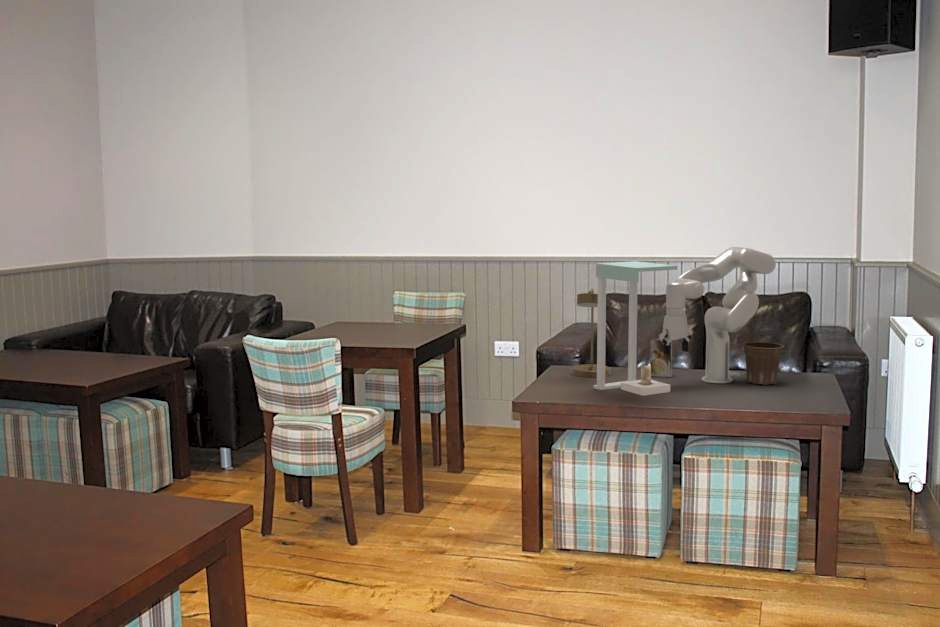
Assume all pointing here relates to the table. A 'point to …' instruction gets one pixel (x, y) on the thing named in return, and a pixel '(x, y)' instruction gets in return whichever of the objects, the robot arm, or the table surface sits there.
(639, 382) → the socket
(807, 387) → the table surface
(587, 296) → the lamp
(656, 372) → the coffee box
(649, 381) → the dowel
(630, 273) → the green-topped side table
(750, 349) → the plant pot
